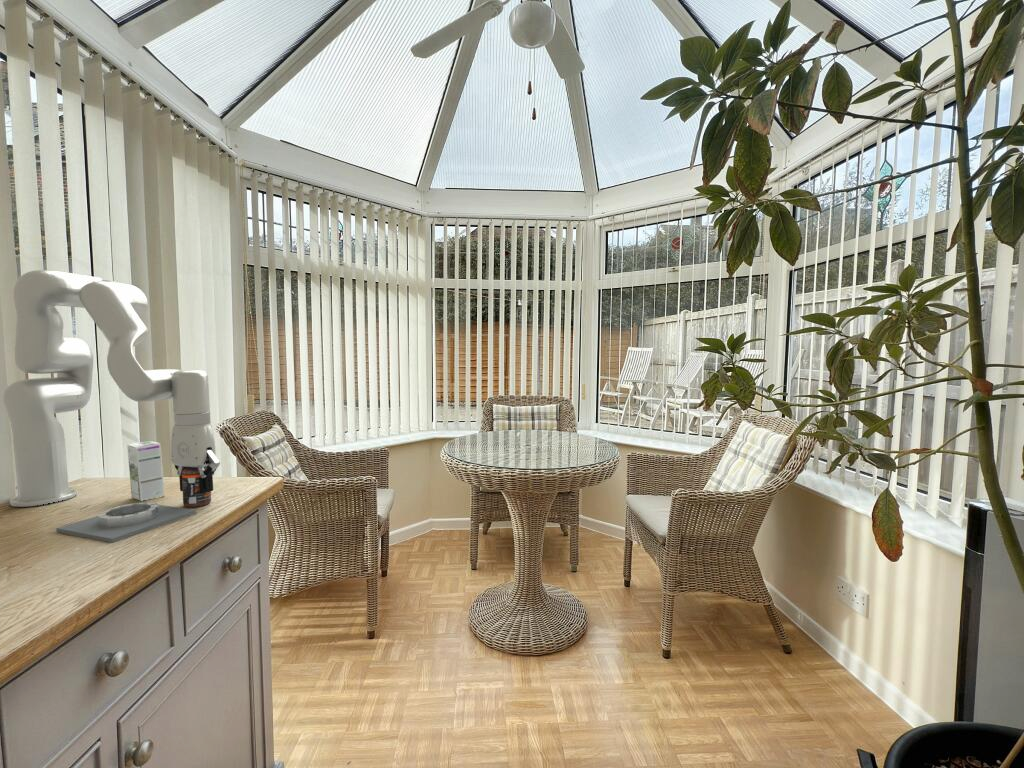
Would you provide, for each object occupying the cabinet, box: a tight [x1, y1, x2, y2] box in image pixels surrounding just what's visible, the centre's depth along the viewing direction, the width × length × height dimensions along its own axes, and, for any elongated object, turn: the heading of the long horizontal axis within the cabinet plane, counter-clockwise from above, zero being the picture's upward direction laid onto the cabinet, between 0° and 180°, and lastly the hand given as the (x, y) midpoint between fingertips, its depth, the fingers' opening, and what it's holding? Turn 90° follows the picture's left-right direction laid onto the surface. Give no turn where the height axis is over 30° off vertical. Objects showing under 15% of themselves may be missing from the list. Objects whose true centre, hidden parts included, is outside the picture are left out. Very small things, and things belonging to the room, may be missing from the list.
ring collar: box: [98, 501, 158, 528], centre depth 110 cm, size 10×10×2 cm
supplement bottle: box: [182, 463, 212, 508], centre depth 122 cm, size 6×6×11 cm
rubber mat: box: [55, 504, 197, 543], centre depth 110 cm, size 18×18×1 cm
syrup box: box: [127, 440, 165, 502], centre depth 128 cm, size 6×6×14 cm
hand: (196, 490), depth 122 cm, fingers closed on supplement bottle, 6 cm apart
